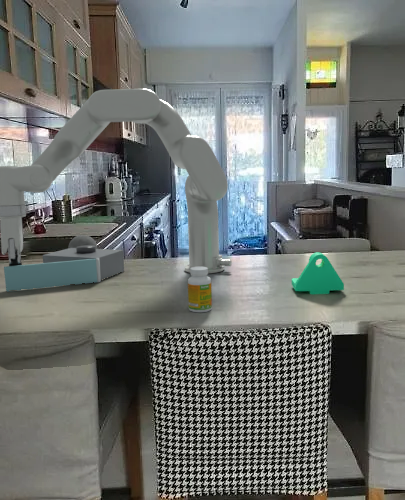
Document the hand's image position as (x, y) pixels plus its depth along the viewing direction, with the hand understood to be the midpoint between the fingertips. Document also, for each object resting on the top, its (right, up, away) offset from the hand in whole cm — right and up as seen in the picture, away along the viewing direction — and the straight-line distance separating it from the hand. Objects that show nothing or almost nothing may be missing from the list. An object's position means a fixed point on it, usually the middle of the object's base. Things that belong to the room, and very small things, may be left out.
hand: (16, 277), depth 134 cm
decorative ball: (+10, +3, +35) cm, 37 cm away
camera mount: (+82, -3, -10) cm, 82 cm away
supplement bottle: (+52, -6, -24) cm, 57 cm away
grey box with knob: (+15, 0, +16) cm, 22 cm away
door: (+10, -3, +1) cm, 11 cm away
